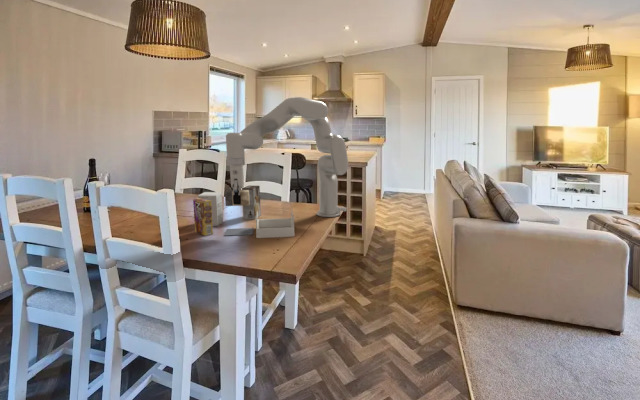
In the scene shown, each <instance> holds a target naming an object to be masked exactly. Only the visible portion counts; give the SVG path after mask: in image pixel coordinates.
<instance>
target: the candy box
mask: <svg viewBox="0 0 640 400" xmlns="http://www.w3.org/2000/svg"><path fill="white" fill-rule="evenodd" d="M192 202H193V219H194V233H196V234H199V235H203V236H204V237H205V236H211V235H213V234H214V231H213V230H214V229H213V227H214V226H212V203H211V200H207V199H202V198H198V197H197V198H193V199H192Z"/></svg>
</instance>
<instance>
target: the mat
mask: <svg viewBox="0 0 640 400" xmlns="http://www.w3.org/2000/svg"><path fill="white" fill-rule="evenodd" d="M253 233H254V227H246V228H245V227H242V228H226V230H225V232H224V237H233V236H234V237H235V236H237V237H238V236H240V237H241V236H253Z"/></svg>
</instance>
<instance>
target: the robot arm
mask: <svg viewBox="0 0 640 400" xmlns="http://www.w3.org/2000/svg"><path fill="white" fill-rule="evenodd" d="M328 114H329V107H328V106H327V104H326V103H324V102H323V101H320V100H315V99H312V98H305V97H301V96H299V97H298V96H297V97H296V96H295V97H289V98H286V99H284V100H283V101H282V102H281V103H279V104H278V105H277V106H275V108H273V109H271V111H269V112H268V113H267V114H265V115H263V116H261V117H259V119H257V120H255V121H253V122H251V123H250V124H248V125H247V126H246V127H245V128H243V129H242V130H241V131H240V132H229V133H228V132H227V134H225V145H226V165H227V166H228V167H229V174H230V177H229V178H230V185H231V189H232V190H233V204H234V205H235V204H241V195H240V190H242V188H244V186H245V182H244V180H245V179H244V176H245V175H244V167H243V166H245V165H246V162H245V161H246V159H245V158H246V157H245V154H246V153H245V150H258V149H260V148H261V147H262V146H263V144H264V139H263V138H264V137H263V136H264V135H266V134H270V133H274V132H277V131H279V130H280V129H281V128H283V126H285V125H286V124H287V123H288V122H290V121H291V120H292V119H293V118H295V117H301V118H302V119H303V120H306V121H307V122H309V123H310V125H311V126H312V129H313V133H314V138H315V144H316V148H317V150H318V151H319V152H320V153H323V155H321V156H320V157H319V158H318V160H317V169H318V177H319V182H318V183H319V210H318V211H317V212H316V215H317V216H318V217H321V218H322V217H323V218H333V217H334V218H336V217H338V216H340V215H341V212H347V207H345V206H344V207H343V206H339V205H338V202H339V201H338V193H339V191H338V186H339V184H338V183H339V181H338V176H343V175H346V173H347V171H348V169H349V159H348V153H347V146H346V142H345V140H344V138H343V137H342V136H341V135H339V134H334V133H332V129H331V124H330V122H329V119H328V118H327V117H328ZM238 192H239V193H238Z"/></svg>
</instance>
